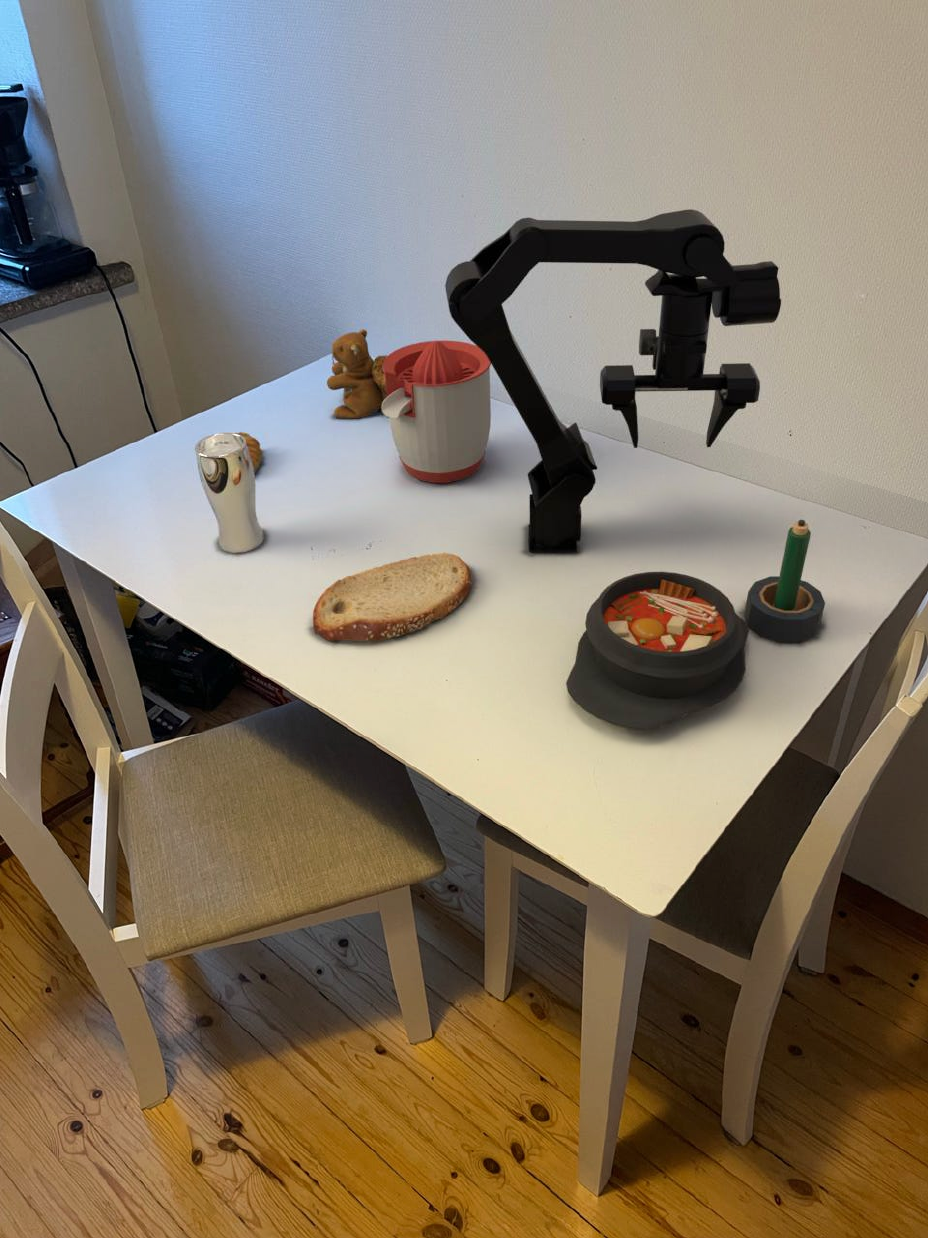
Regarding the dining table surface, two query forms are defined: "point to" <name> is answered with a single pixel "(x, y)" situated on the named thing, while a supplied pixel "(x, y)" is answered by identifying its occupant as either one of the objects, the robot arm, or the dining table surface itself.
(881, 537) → the dining table surface
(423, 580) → the slice of bread
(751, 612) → the tape roll
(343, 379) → the stuffed squirrel
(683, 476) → the dining table surface
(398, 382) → the citrus juicer
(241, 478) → the beer glass
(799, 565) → the pencil
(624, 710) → the casserole
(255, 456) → the pastry
